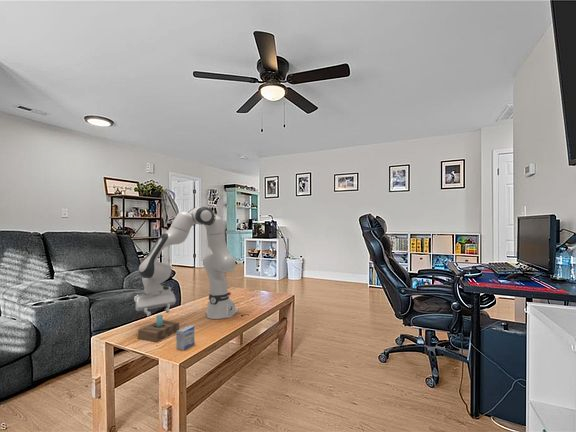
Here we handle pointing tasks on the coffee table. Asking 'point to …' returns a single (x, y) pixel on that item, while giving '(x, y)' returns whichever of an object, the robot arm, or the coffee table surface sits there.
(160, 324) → the peg
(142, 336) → the hole block
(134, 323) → the coffee table surface
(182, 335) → the medicine box
